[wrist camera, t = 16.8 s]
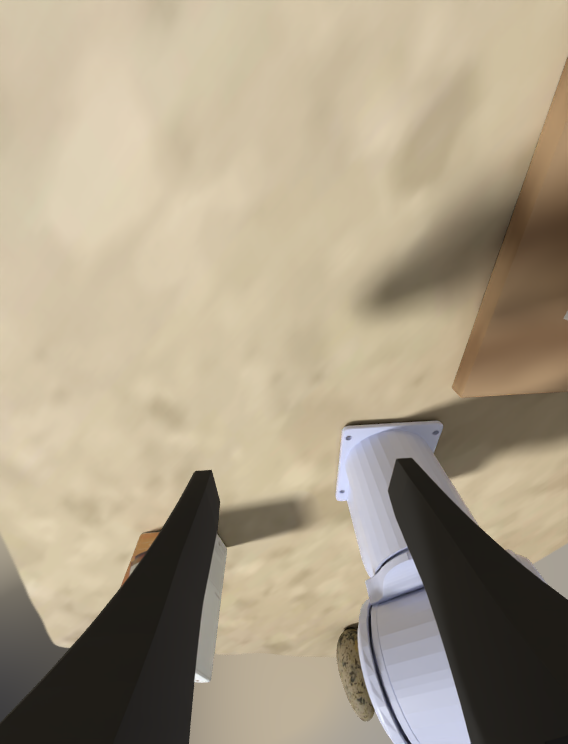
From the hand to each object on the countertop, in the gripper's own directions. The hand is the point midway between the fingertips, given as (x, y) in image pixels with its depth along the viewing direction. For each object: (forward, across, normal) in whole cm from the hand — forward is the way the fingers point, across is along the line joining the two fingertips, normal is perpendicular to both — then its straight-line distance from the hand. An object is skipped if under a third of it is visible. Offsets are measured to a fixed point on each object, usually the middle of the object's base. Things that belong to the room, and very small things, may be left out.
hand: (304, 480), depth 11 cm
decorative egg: (+10, -9, +54) cm, 56 cm away
